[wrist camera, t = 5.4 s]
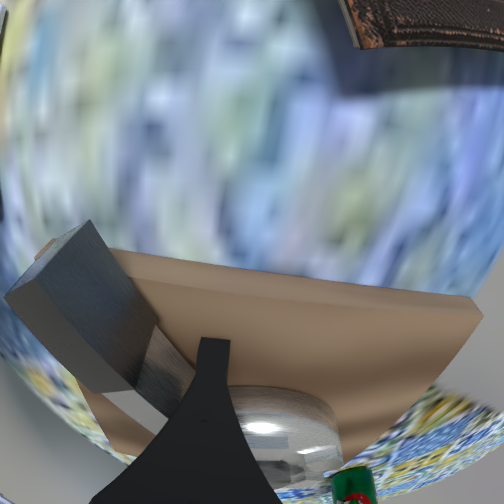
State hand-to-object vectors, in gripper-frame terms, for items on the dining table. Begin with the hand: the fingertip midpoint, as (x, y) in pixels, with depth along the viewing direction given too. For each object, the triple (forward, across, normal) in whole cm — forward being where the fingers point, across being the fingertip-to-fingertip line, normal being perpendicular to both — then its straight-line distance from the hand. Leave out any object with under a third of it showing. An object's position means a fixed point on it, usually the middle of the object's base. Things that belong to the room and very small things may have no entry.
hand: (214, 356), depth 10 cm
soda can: (+3, -16, +26) cm, 30 cm away
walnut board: (+3, -2, +8) cm, 9 cm away
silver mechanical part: (+1, 0, +4) cm, 4 cm away
